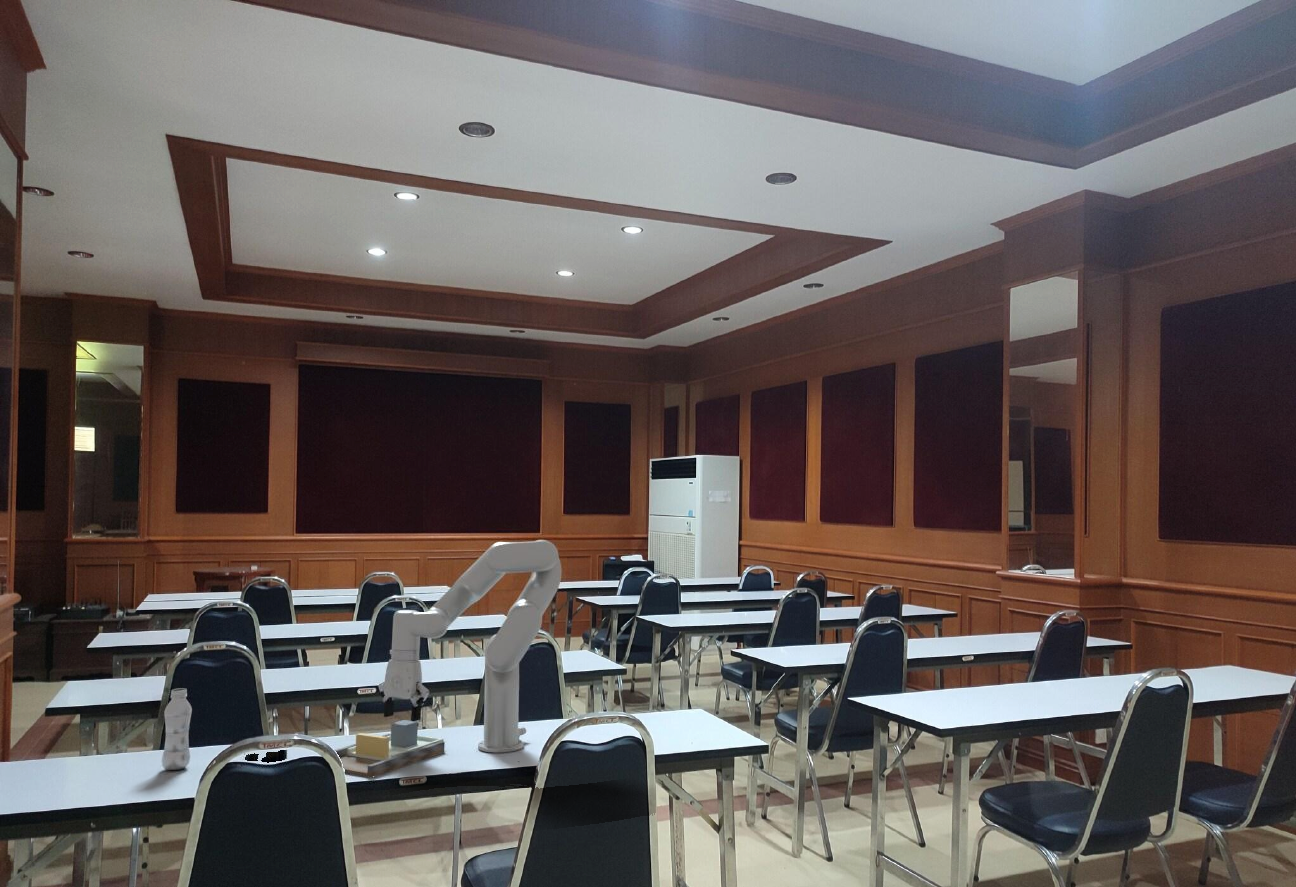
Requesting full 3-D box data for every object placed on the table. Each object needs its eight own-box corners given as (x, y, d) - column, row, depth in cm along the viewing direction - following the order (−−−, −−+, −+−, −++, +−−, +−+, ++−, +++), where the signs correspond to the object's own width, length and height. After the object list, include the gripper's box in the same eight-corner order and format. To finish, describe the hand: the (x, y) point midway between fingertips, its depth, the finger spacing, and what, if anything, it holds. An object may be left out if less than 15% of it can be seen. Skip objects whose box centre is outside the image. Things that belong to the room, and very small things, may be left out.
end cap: (285, 764, 238) (286, 738, 238) (287, 771, 231) (288, 744, 232) (243, 769, 234) (244, 742, 234) (244, 776, 227) (245, 748, 228)
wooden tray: (399, 738, 261) (399, 718, 261) (443, 745, 253) (443, 724, 254) (347, 755, 243) (347, 732, 243) (393, 762, 236) (393, 739, 236)
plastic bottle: (158, 773, 229) (161, 692, 231) (164, 766, 236) (168, 687, 237) (186, 771, 231) (189, 691, 232) (192, 764, 237) (195, 686, 239)
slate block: (403, 741, 254) (403, 719, 255) (417, 743, 252) (417, 721, 252) (390, 745, 250) (391, 723, 250) (404, 747, 247) (405, 725, 248)
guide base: (388, 743, 260) (389, 733, 260) (444, 751, 251) (444, 741, 251) (312, 767, 235) (312, 756, 235) (371, 777, 226) (371, 766, 226)
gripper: (372, 654, 253) (368, 716, 252) (420, 660, 245) (417, 724, 244) (391, 651, 260) (387, 712, 259) (438, 656, 252) (435, 719, 251)
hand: (402, 718), depth 251 cm, fingers open, 9 cm apart
